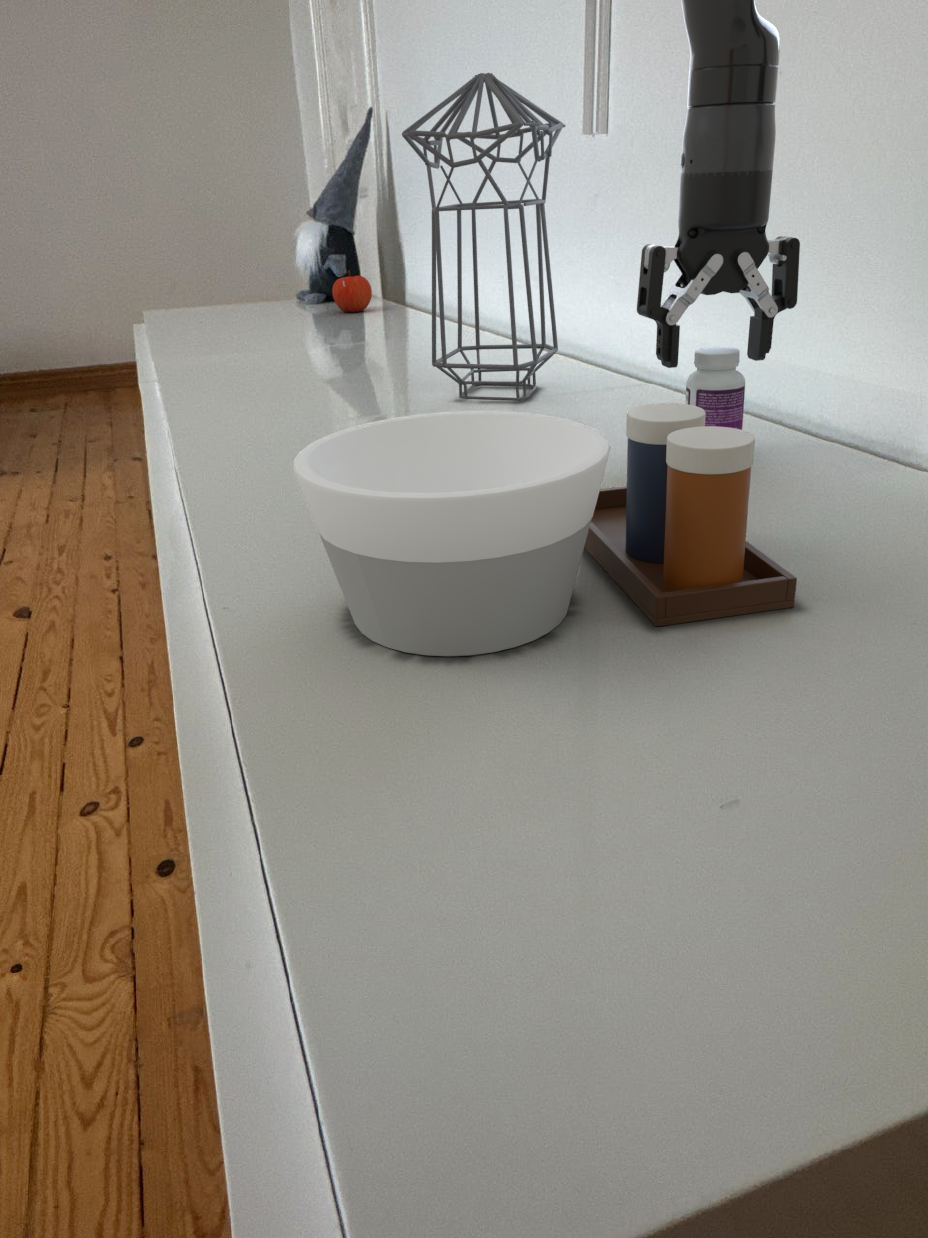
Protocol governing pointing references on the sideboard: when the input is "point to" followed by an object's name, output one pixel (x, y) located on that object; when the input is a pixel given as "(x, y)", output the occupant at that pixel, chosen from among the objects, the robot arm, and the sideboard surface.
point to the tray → (644, 586)
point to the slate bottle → (651, 473)
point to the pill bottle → (717, 386)
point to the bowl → (455, 524)
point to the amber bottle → (706, 506)
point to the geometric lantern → (514, 111)
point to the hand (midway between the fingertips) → (713, 362)
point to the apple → (352, 293)
